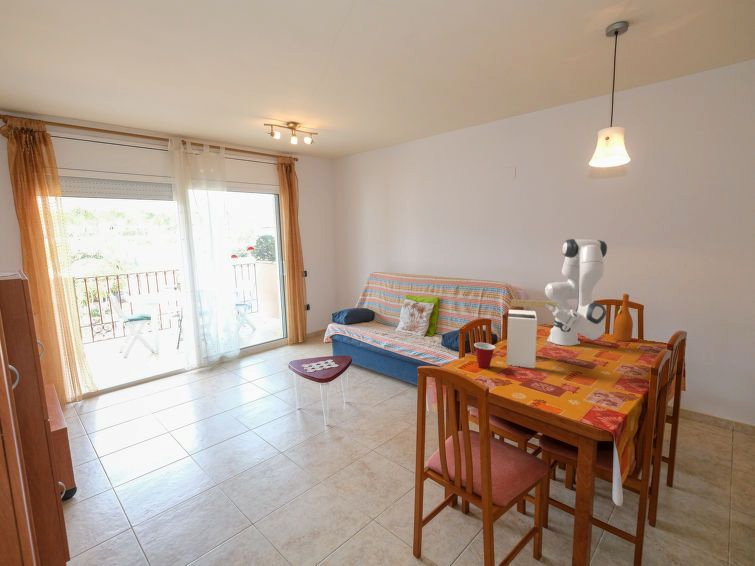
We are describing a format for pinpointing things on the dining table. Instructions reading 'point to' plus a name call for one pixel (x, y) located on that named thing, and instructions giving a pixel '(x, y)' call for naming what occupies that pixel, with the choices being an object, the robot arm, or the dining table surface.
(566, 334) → the robot arm
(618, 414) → the dining table surface
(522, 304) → the light wood bar
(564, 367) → the dining table surface
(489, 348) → the plastic cup
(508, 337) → the white upright block
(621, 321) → the wine bottle
